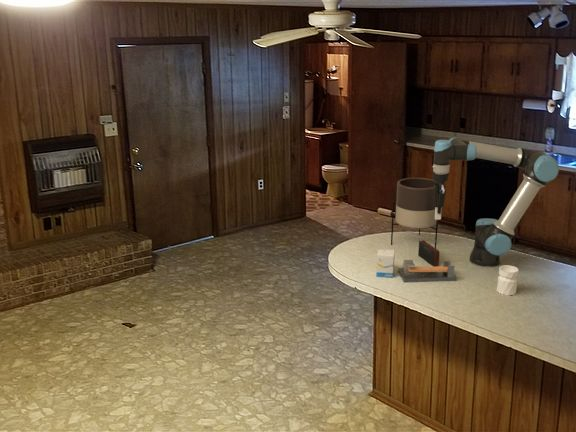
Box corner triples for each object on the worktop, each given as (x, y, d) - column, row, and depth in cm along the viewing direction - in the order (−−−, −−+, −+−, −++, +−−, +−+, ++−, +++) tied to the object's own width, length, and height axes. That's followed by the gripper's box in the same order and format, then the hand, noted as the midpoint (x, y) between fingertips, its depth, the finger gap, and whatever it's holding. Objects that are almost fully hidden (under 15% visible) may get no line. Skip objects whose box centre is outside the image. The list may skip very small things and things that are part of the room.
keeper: (411, 271, 320) (412, 259, 318) (415, 277, 314) (415, 265, 312) (403, 272, 320) (403, 260, 318) (406, 277, 313) (406, 265, 311)
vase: (494, 288, 306) (496, 265, 302) (512, 288, 305) (515, 265, 301) (499, 296, 297) (501, 272, 293) (518, 296, 297) (521, 272, 293)
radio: (417, 255, 345) (419, 229, 341) (422, 255, 346) (424, 229, 342) (435, 268, 329) (437, 241, 324) (440, 268, 330) (442, 240, 325)
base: (448, 270, 326) (449, 256, 324) (456, 280, 314) (457, 266, 312) (398, 271, 325) (398, 258, 323) (403, 282, 313) (404, 268, 310)
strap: (448, 268, 319) (448, 266, 318) (451, 272, 314) (451, 269, 314) (407, 268, 318) (407, 265, 317) (409, 272, 313) (409, 269, 313)
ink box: (393, 278, 318) (394, 256, 314) (376, 276, 320) (376, 255, 316) (394, 271, 326) (394, 249, 322) (377, 270, 328) (377, 248, 324)
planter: (449, 242, 363) (454, 182, 352) (425, 255, 346) (429, 192, 335) (410, 232, 380) (413, 174, 369) (386, 243, 363) (388, 183, 352)
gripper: (429, 169, 314) (426, 215, 321) (436, 176, 301) (433, 223, 309) (444, 168, 314) (441, 214, 322) (452, 175, 302) (449, 223, 309)
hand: (437, 219), depth 315 cm, fingers closed
